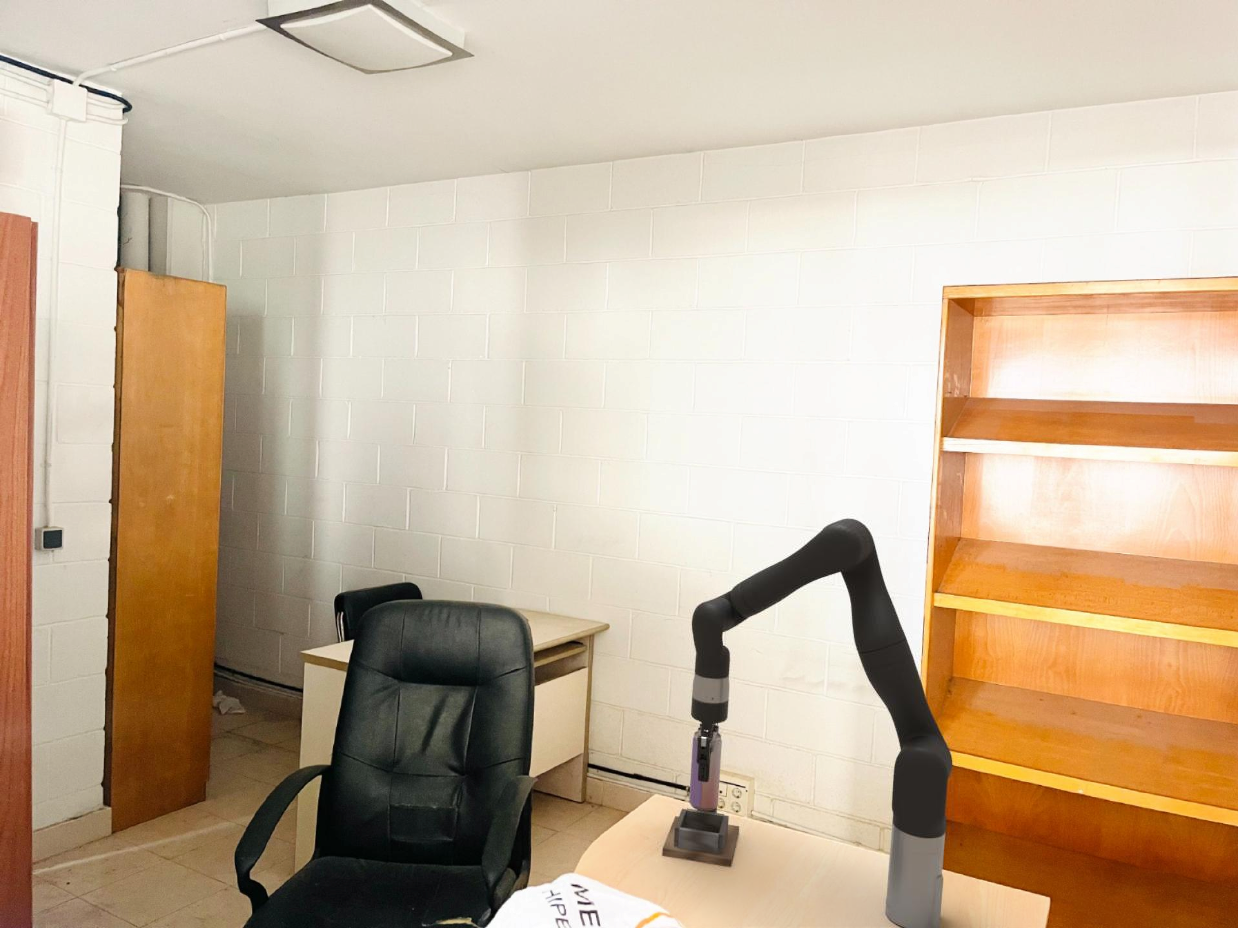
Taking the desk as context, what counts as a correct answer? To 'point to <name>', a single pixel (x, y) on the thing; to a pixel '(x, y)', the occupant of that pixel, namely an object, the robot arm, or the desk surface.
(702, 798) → the beverage can
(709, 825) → the post holder
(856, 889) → the desk surface
